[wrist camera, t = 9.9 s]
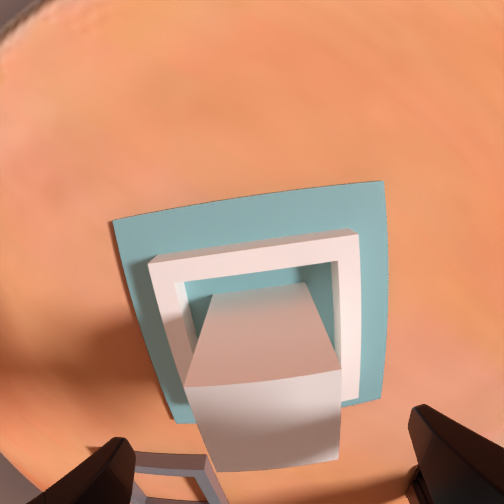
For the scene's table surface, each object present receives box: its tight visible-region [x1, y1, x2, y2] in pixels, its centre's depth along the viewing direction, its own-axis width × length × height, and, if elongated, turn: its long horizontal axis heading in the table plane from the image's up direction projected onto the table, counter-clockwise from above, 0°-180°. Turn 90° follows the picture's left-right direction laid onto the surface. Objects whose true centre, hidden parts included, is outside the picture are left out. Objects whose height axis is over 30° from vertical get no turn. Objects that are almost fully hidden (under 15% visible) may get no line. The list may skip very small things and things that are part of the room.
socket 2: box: [113, 181, 388, 424], centre depth 15 cm, size 13×13×2 cm
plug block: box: [183, 282, 342, 472], centre depth 12 cm, size 4×5×7 cm
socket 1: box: [130, 452, 229, 504], centre depth 19 cm, size 9×9×2 cm
